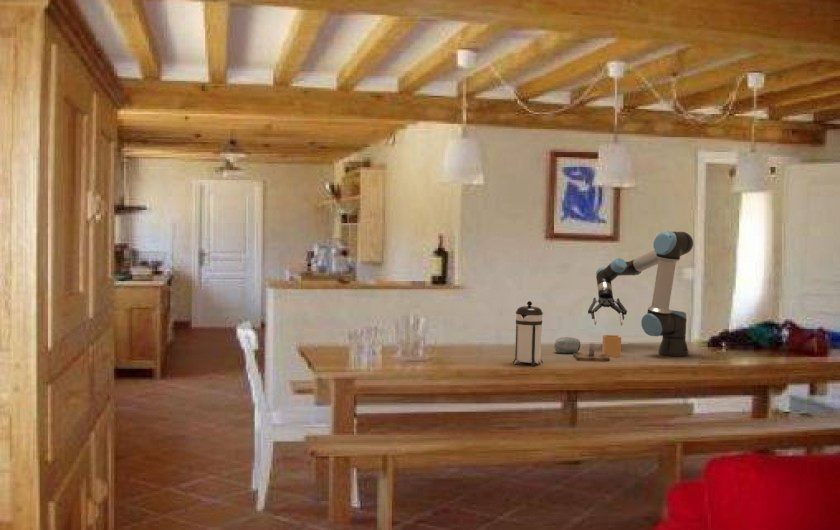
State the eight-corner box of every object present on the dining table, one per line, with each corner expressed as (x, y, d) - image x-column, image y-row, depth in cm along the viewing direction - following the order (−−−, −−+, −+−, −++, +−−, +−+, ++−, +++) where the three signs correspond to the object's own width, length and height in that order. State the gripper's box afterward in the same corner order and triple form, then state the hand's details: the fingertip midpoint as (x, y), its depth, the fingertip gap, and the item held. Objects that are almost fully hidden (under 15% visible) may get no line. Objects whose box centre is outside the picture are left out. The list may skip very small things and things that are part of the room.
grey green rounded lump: (577, 345, 472) (576, 330, 467) (583, 355, 464) (582, 340, 459) (552, 351, 471) (551, 335, 466) (558, 361, 463) (556, 346, 458)
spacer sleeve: (617, 354, 464) (618, 335, 463) (620, 357, 456) (621, 337, 455) (602, 354, 464) (602, 334, 464) (604, 356, 456) (605, 337, 456)
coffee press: (550, 366, 421) (552, 302, 420) (517, 366, 418) (519, 302, 416) (538, 360, 438) (539, 299, 437) (506, 360, 435) (508, 299, 433)
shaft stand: (605, 357, 454) (605, 342, 454) (609, 361, 440) (610, 346, 440) (573, 356, 455) (573, 341, 455) (577, 360, 441) (577, 345, 441)
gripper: (627, 297, 486) (631, 328, 472) (581, 296, 487) (583, 327, 473) (629, 288, 480) (633, 319, 466) (582, 287, 482) (585, 318, 467)
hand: (608, 323), depth 470 cm, fingers open, 13 cm apart
